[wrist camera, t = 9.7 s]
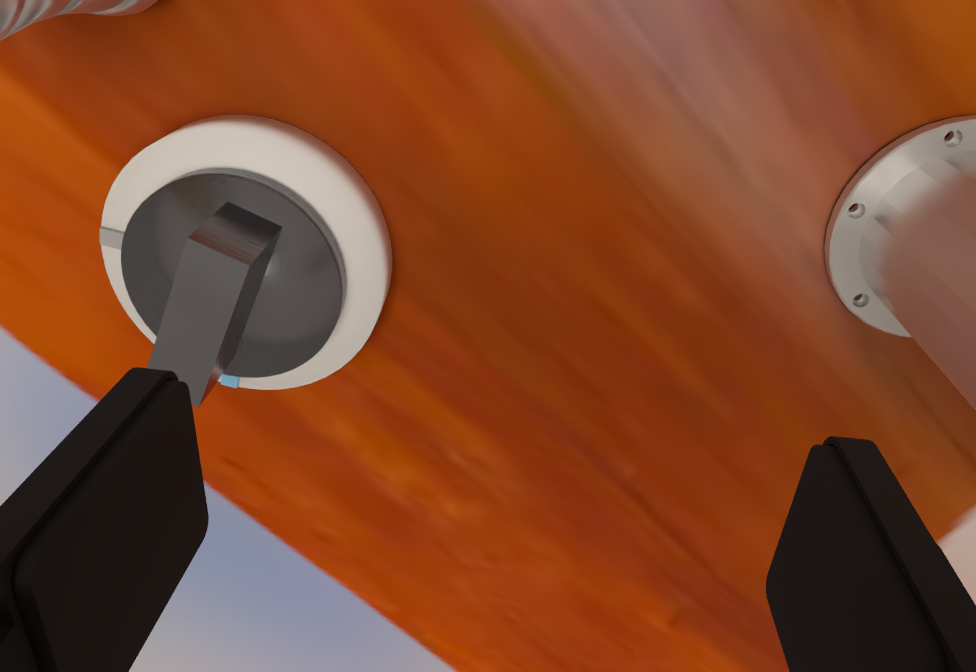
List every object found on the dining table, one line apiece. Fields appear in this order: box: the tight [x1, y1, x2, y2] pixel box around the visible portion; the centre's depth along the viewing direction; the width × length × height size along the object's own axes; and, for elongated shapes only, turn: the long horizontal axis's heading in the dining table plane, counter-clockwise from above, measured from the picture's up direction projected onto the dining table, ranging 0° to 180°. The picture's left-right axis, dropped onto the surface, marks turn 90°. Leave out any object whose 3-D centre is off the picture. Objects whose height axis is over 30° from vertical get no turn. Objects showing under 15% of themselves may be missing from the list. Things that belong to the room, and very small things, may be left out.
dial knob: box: [121, 168, 347, 408], centre depth 39 cm, size 12×12×6 cm
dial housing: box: [100, 114, 392, 390], centre depth 44 cm, size 16×16×3 cm
